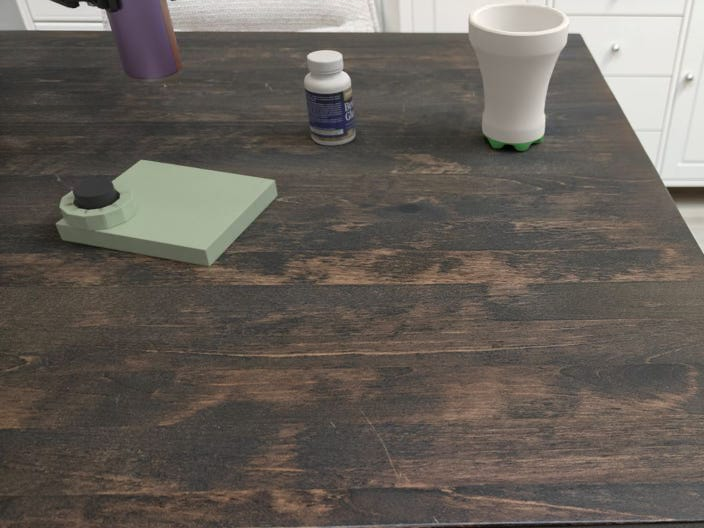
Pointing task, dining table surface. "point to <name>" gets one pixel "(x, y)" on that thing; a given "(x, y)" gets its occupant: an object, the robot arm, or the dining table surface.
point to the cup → (516, 67)
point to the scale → (170, 212)
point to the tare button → (95, 194)
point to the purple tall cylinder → (145, 40)
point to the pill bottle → (329, 99)
